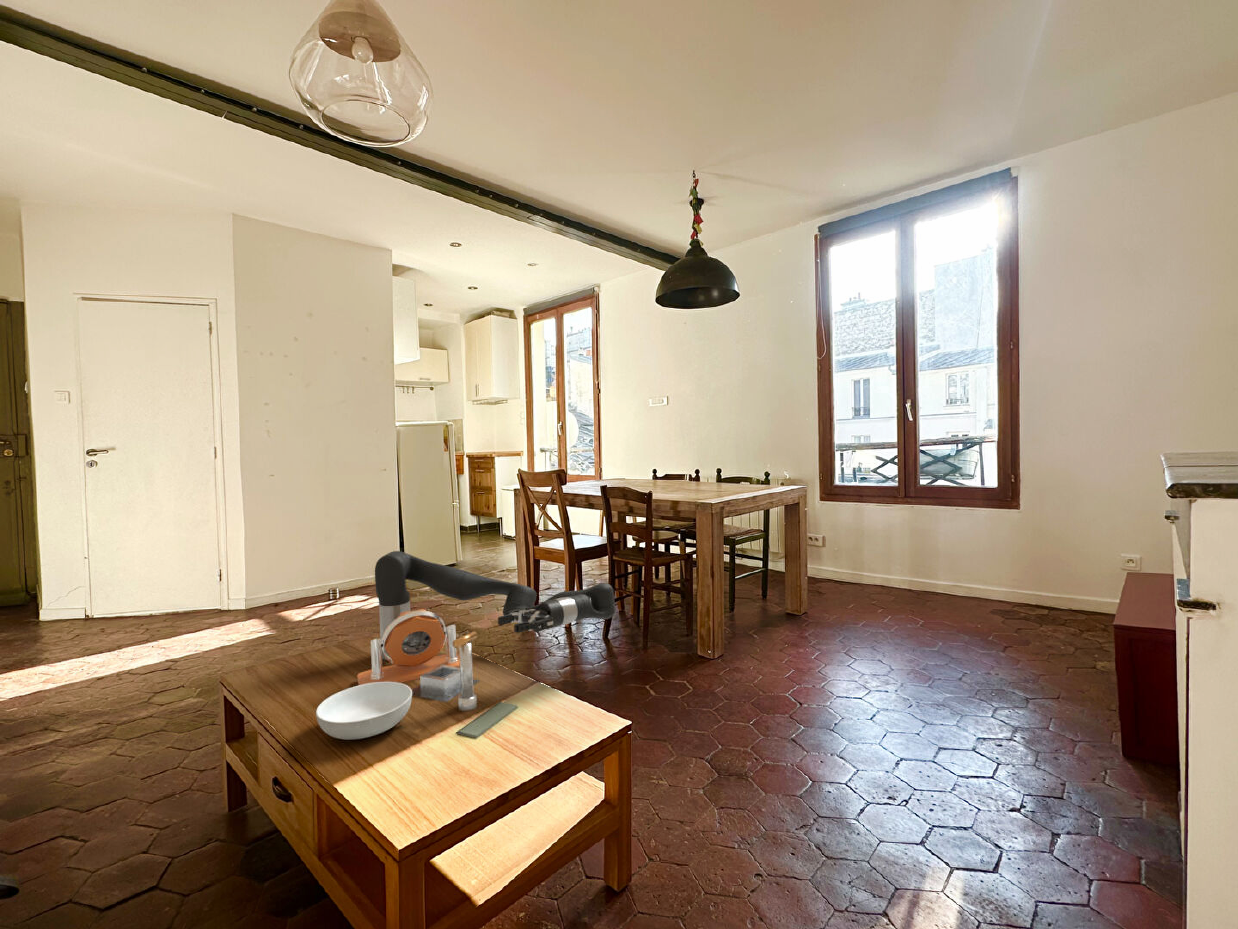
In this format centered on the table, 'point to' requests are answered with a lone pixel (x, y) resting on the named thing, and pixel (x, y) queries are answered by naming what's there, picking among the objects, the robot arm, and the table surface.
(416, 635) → the desk clock
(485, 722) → the rubber mat
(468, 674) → the cylinder
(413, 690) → the chuck block
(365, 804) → the table surface
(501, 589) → the robot arm
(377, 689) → the serving bowl
